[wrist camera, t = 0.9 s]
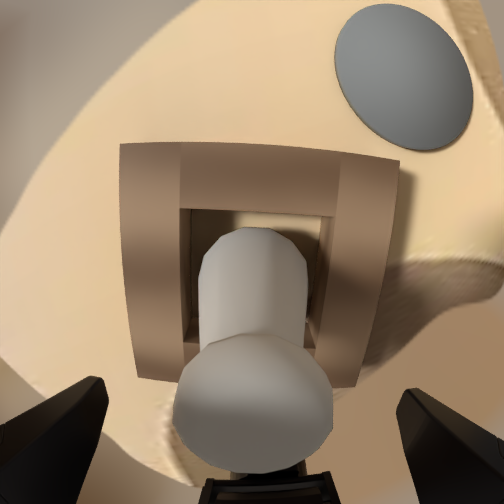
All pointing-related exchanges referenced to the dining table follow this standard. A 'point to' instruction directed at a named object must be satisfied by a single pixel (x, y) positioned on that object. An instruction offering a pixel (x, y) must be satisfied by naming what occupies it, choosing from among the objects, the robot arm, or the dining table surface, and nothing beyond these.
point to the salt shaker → (253, 360)
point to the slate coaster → (403, 76)
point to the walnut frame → (260, 200)
